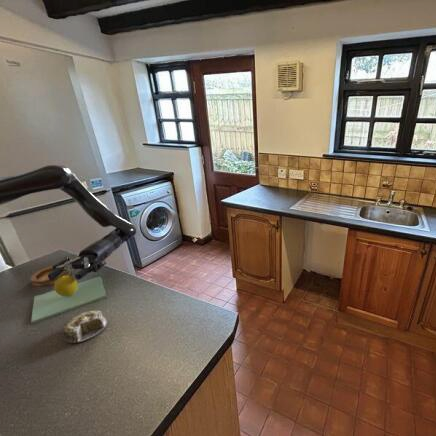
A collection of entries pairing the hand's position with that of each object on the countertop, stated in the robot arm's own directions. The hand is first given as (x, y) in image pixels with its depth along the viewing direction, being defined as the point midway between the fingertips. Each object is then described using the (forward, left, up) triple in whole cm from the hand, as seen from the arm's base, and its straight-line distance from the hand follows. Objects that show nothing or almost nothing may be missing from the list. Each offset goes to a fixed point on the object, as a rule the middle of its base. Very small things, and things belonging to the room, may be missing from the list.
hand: (63, 277), depth 79 cm
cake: (+3, -20, -8) cm, 22 cm away
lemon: (0, 0, -8) cm, 8 cm away
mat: (0, 0, -8) cm, 8 cm away
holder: (-5, +19, -8) cm, 21 cm away
